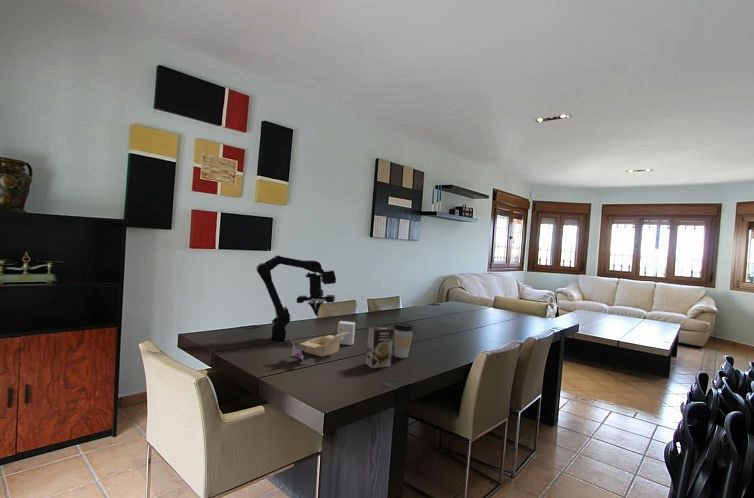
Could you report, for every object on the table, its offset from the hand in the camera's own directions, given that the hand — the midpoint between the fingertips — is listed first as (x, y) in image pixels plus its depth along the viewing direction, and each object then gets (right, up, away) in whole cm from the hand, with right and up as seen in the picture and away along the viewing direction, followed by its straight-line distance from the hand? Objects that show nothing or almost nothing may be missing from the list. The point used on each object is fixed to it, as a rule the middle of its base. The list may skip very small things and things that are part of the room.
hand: (316, 315), depth 204 cm
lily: (-2, -13, -40) cm, 42 cm away
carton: (+6, -13, -21) cm, 25 cm away
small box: (+15, -14, -3) cm, 20 cm away
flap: (+13, -6, -24) cm, 28 cm away
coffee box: (+31, -16, -34) cm, 49 cm away
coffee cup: (+42, -16, -18) cm, 49 cm away
